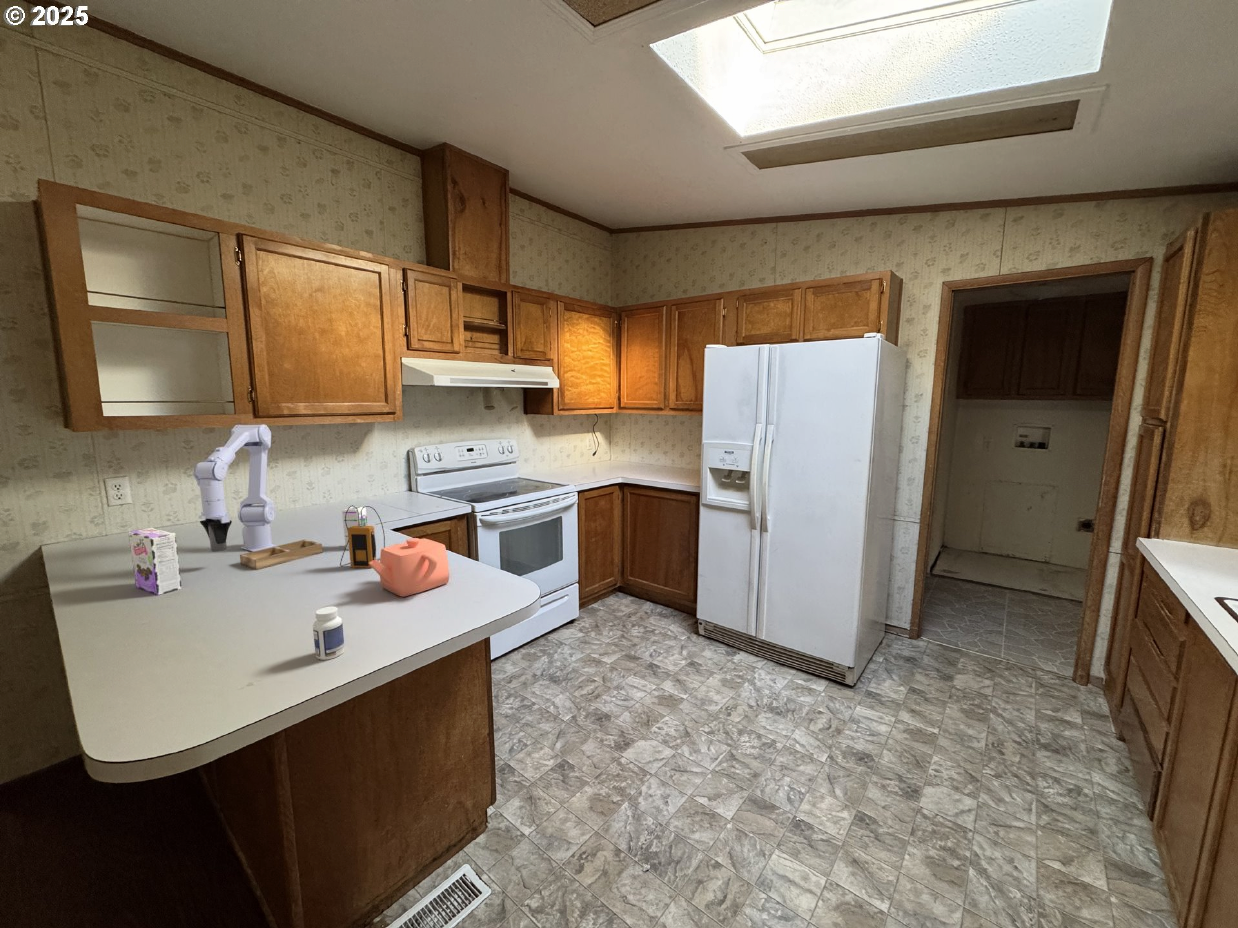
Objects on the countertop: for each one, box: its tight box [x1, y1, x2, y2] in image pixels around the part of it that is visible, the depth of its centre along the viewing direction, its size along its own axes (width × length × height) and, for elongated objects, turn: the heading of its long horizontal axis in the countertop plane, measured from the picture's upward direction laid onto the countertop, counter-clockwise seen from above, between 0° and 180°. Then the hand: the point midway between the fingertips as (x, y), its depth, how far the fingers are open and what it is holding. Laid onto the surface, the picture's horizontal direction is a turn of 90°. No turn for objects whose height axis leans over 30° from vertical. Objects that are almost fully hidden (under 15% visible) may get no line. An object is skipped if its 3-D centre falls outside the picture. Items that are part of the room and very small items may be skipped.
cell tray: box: [239, 539, 323, 570], centre depth 172 cm, size 11×20×3 cm, turn 148°
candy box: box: [128, 527, 183, 596], centre depth 146 cm, size 14×6×16 cm, turn 62°
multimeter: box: [339, 505, 386, 569], centre depth 166 cm, size 15×10×20 cm
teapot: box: [369, 537, 450, 598], centre depth 144 cm, size 20×22×14 cm
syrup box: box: [341, 505, 368, 551], centre depth 183 cm, size 6×6×14 cm
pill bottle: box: [312, 606, 345, 661], centre depth 108 cm, size 5×5×10 cm
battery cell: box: [208, 526, 228, 553], centre depth 162 cm, size 4×4×9 cm
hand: (218, 542), depth 163 cm, fingers closed on battery cell, 4 cm apart
